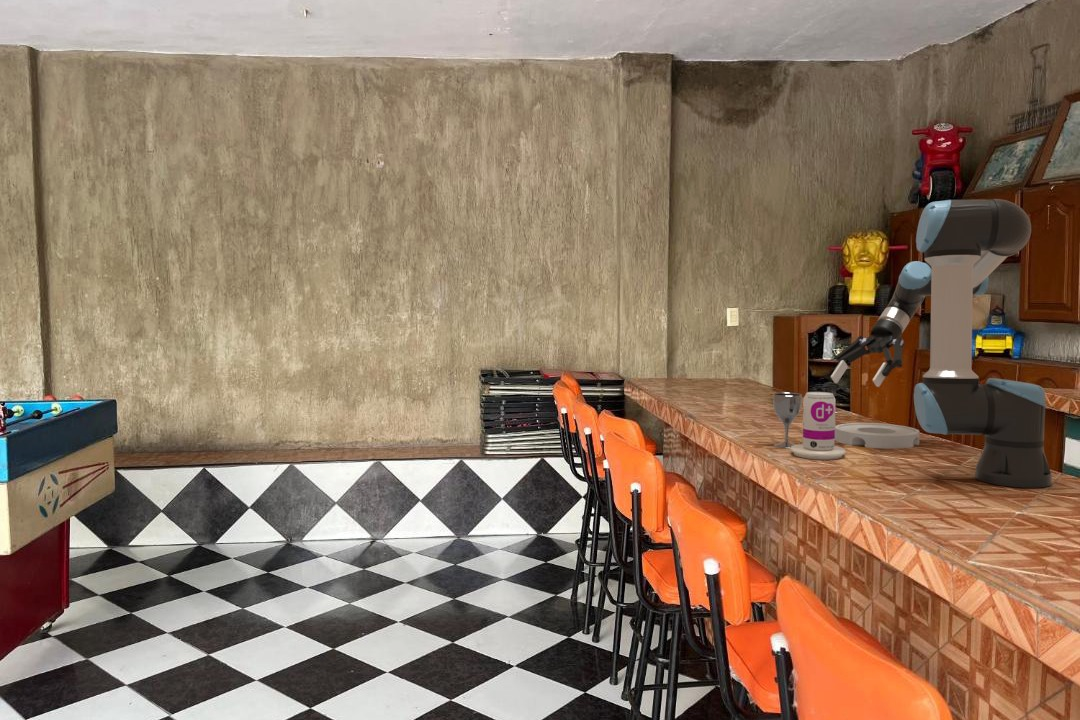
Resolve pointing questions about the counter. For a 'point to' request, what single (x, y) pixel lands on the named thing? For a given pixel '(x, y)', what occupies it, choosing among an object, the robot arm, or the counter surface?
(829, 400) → the supplement can
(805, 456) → the dish
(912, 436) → the ashtray
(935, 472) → the counter surface
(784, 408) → the wine glass
